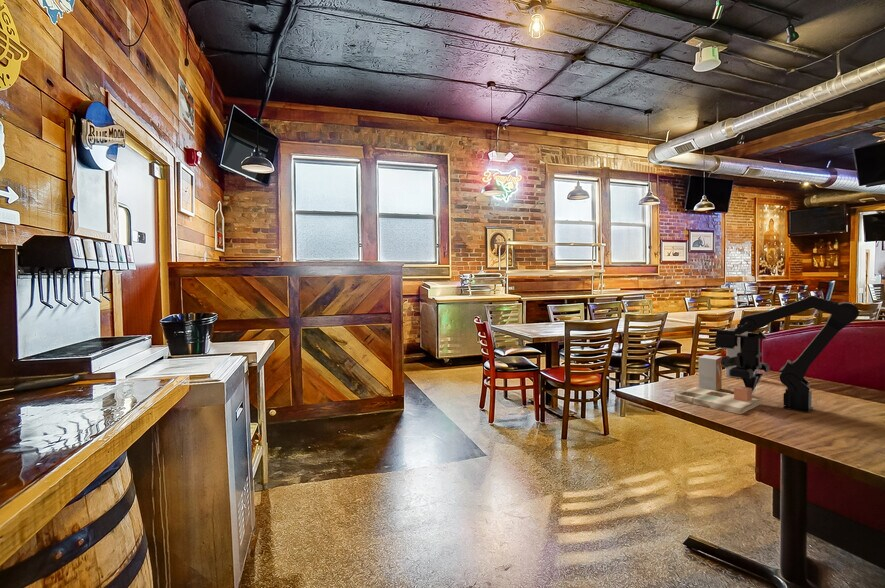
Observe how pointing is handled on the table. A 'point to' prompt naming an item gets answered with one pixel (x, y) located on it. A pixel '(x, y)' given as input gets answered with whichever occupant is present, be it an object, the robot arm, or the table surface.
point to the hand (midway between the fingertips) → (749, 393)
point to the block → (743, 393)
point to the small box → (710, 372)
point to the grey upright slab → (733, 353)
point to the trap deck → (716, 400)
